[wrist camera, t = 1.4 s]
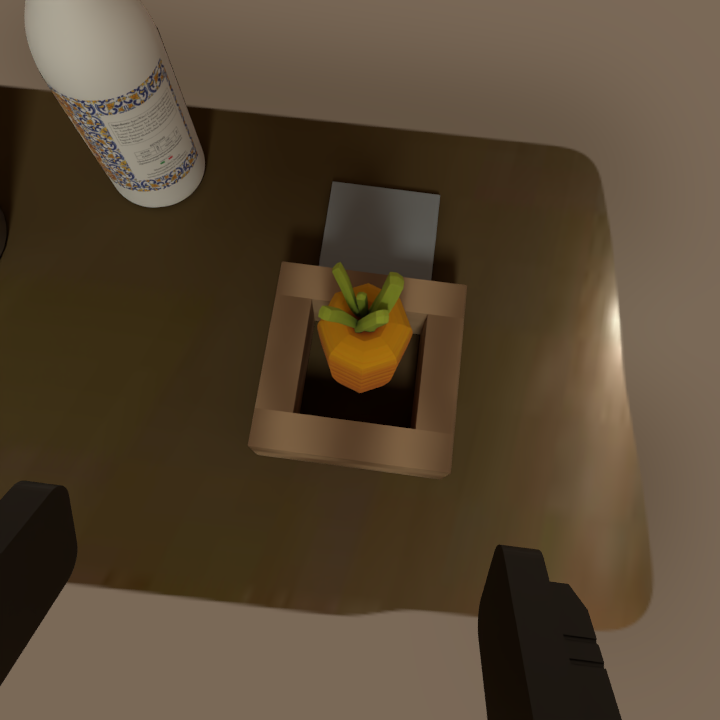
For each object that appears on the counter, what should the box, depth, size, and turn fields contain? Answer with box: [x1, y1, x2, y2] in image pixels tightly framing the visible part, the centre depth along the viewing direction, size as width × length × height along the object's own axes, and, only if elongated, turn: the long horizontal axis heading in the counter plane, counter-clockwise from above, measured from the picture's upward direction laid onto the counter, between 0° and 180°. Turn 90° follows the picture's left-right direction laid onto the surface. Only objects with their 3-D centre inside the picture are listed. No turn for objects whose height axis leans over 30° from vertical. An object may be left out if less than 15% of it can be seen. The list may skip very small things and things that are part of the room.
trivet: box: [319, 181, 440, 281], centre depth 43 cm, size 8×8×1 cm
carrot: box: [317, 262, 413, 393], centre depth 33 cm, size 5×5×15 cm
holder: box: [248, 261, 467, 479], centre depth 39 cm, size 12×12×4 cm
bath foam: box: [24, 0, 205, 207], centre depth 35 cm, size 7×7×20 cm
